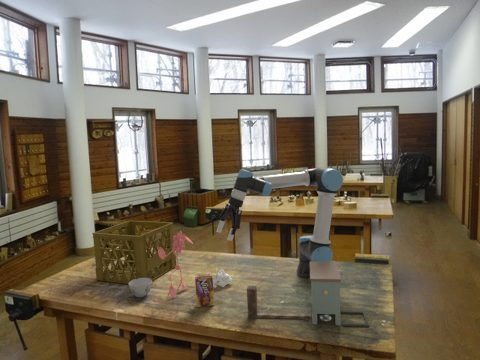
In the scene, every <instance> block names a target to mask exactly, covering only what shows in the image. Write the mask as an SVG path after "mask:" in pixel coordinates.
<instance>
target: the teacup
mask: <svg viewBox="0 0 480 360" xmlns="http://www.w3.org/2000/svg"><path fill="white" fill-rule="evenodd" d="M152 284H153V281H152V280H151V279H149V278H139V279H135V280H132V281H130V282H129V284H128V288H129V290H130V293H131V294H132V295H133V296H135V297H136V298H144V297H146V296H148V293H150V291H151V288H152V286H153V285H152Z"/></svg>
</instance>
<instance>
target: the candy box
mask: <svg viewBox="0 0 480 360" xmlns="http://www.w3.org/2000/svg"><path fill="white" fill-rule="evenodd" d="M213 277H214V276H213V274H212V273H208V274H198V275H197V274H196V275H195V278H194V279H195V280H194V281H195V282H194V283H195V293H196V294H195V296H196V307H197V308H202V307H210V306H215V294H214V292H215V290H214V286H213Z"/></svg>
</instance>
